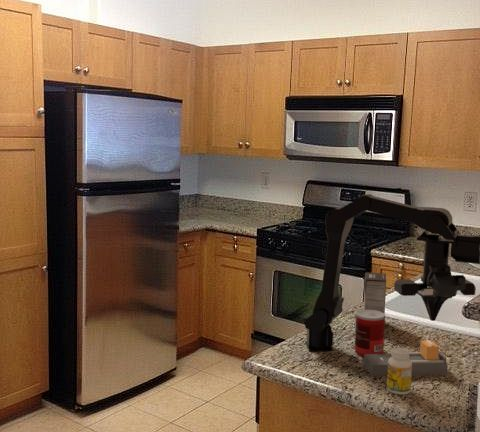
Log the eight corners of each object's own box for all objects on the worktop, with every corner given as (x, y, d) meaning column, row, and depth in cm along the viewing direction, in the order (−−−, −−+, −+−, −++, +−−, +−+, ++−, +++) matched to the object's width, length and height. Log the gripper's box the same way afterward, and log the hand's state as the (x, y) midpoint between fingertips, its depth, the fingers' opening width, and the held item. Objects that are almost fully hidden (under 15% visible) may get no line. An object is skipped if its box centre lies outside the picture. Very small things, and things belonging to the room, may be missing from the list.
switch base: (371, 376, 139) (372, 360, 138) (363, 365, 146) (364, 349, 145) (446, 375, 140) (447, 359, 140) (435, 363, 147) (436, 348, 147)
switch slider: (426, 360, 141) (427, 345, 140) (420, 353, 145) (420, 339, 144) (437, 359, 141) (438, 344, 141) (431, 353, 145) (432, 339, 145)
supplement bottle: (415, 393, 130) (417, 353, 129) (395, 396, 128) (398, 356, 127) (400, 383, 135) (402, 345, 134) (381, 386, 133) (383, 348, 132)
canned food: (384, 349, 157) (386, 311, 155) (381, 359, 150) (383, 319, 148) (356, 345, 160) (358, 308, 158) (352, 355, 152) (354, 316, 150)
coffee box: (362, 320, 181) (364, 271, 179) (383, 322, 180) (385, 273, 178) (362, 330, 173) (365, 278, 170) (384, 331, 171) (387, 280, 169)
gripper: (411, 267, 131) (408, 332, 133) (489, 266, 132) (484, 330, 134) (394, 257, 142) (391, 317, 144) (466, 256, 143) (462, 316, 145)
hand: (432, 320), depth 142 cm, fingers closed
